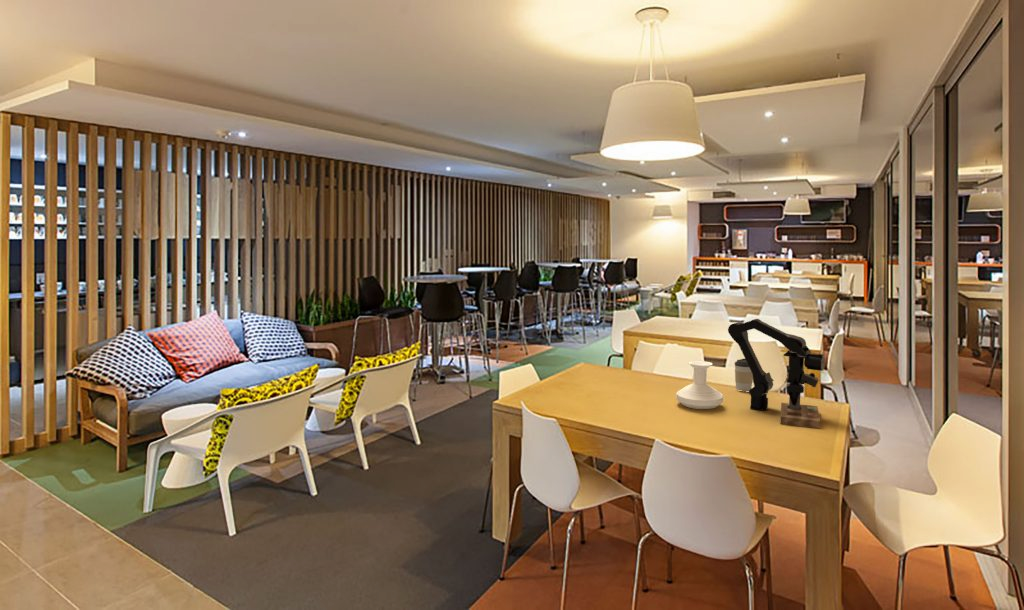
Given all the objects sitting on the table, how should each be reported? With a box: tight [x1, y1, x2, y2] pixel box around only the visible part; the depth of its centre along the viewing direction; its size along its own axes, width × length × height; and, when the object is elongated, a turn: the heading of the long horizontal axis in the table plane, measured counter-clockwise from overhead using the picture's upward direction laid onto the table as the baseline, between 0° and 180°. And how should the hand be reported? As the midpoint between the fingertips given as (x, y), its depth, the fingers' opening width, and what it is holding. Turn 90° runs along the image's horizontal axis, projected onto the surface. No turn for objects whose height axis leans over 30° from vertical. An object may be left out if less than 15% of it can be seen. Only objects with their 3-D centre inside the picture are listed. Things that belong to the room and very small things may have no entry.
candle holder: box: [676, 360, 724, 410], centre depth 261 cm, size 20×20×19 cm
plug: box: [788, 393, 801, 410], centre depth 248 cm, size 4×4×8 cm
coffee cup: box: [734, 358, 753, 391], centre depth 287 cm, size 9×9×15 cm
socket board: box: [780, 402, 821, 429], centre depth 243 cm, size 14×22×4 cm, turn 155°
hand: (794, 404), depth 248 cm, fingers closed on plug, 4 cm apart
